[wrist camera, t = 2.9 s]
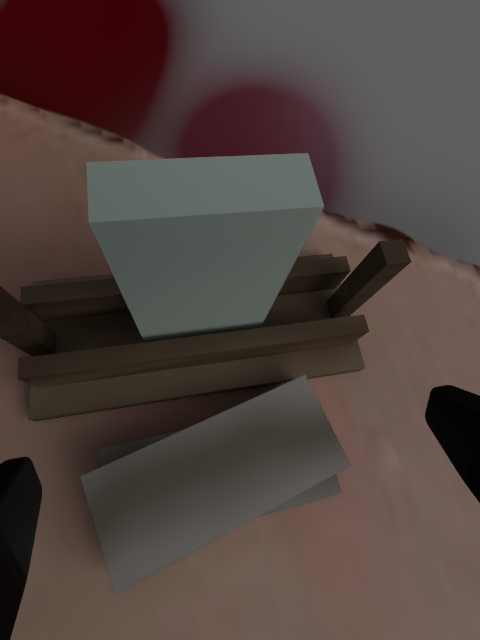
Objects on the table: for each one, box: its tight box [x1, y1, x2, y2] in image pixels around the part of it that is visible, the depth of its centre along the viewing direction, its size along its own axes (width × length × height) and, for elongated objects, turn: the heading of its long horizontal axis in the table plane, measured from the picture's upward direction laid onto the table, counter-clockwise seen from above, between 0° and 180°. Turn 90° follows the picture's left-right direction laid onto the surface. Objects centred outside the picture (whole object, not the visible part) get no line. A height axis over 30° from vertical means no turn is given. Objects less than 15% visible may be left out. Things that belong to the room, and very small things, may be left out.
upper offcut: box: [80, 375, 351, 594], centre depth 18 cm, size 5×12×2 cm, turn 114°
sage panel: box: [87, 153, 324, 342], centre depth 16 cm, size 2×6×12 cm, turn 100°
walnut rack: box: [0, 239, 411, 421], centre depth 18 cm, size 8×19×8 cm, turn 100°
